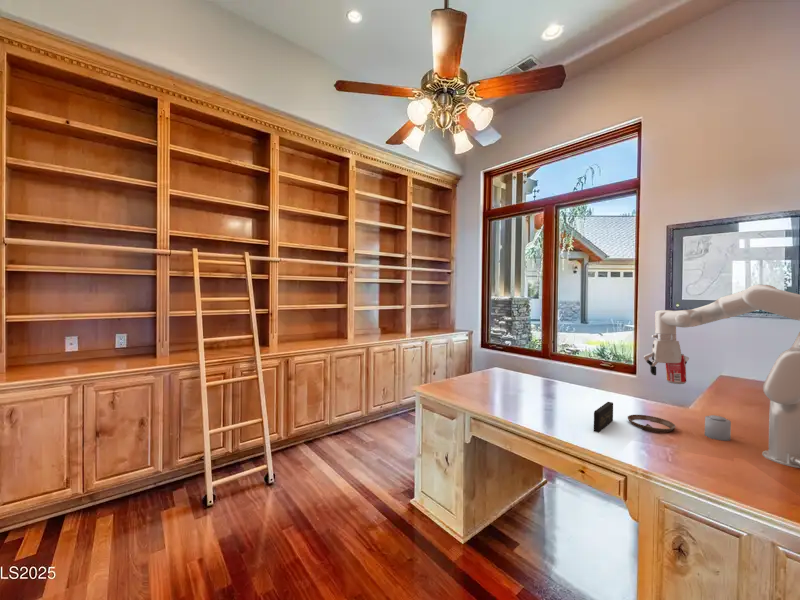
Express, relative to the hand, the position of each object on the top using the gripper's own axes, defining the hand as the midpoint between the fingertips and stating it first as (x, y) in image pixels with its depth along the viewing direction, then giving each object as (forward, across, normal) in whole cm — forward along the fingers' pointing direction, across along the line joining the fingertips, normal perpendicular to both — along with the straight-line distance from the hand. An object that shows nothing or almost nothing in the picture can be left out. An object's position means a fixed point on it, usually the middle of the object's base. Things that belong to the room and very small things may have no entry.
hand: (666, 375), depth 157 cm
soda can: (+4, +4, +1) cm, 6 cm away
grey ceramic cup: (+24, +15, -7) cm, 30 cm away
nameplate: (+24, -28, -8) cm, 37 cm away
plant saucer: (+24, -7, 0) cm, 25 cm away
